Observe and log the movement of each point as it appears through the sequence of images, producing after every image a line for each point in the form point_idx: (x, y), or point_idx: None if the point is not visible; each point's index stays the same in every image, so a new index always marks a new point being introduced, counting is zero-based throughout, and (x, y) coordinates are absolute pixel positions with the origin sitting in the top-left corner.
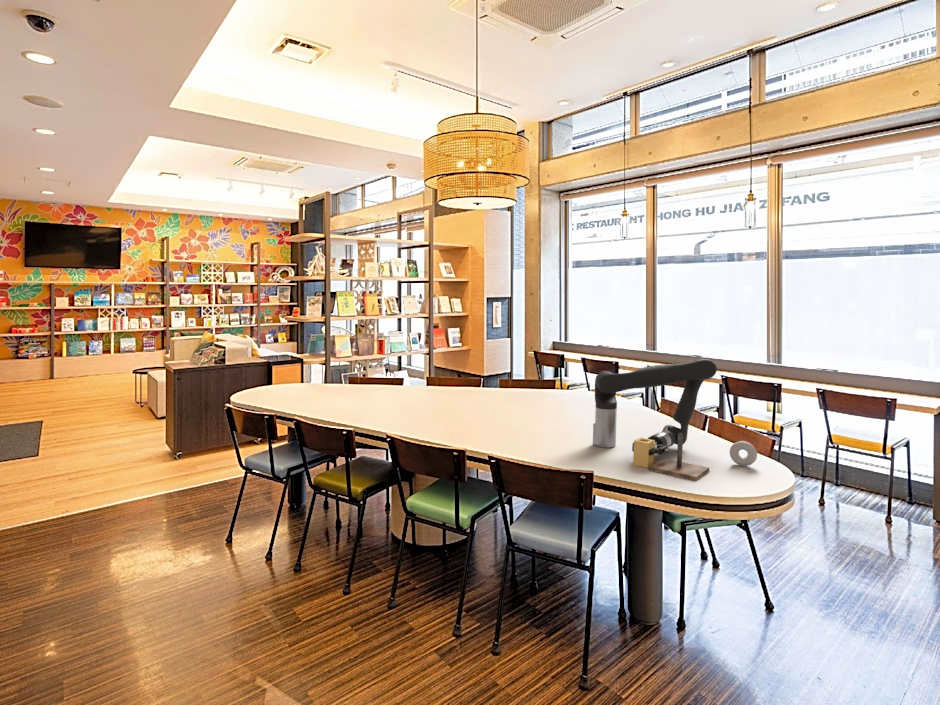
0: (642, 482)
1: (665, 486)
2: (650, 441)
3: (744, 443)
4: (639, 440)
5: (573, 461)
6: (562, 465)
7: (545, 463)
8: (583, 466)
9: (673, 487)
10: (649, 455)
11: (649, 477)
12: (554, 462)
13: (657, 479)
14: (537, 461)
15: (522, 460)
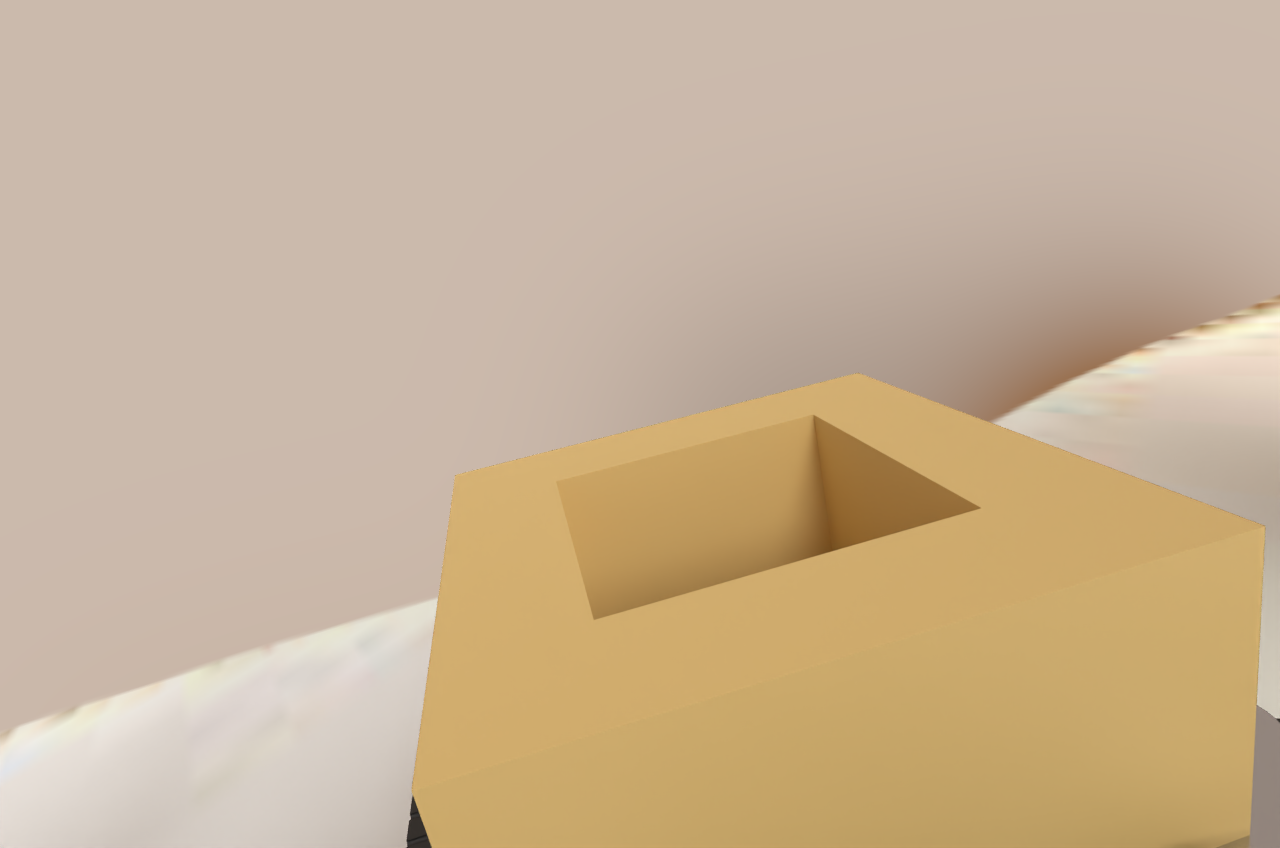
0: (400, 617)
1: (166, 703)
2: (490, 557)
3: None
4: (846, 448)
5: (1225, 444)
6: (1088, 399)
7: (1162, 359)
8: None
9: (74, 742)
10: None
11: (386, 729)
12: (1190, 381)
13: (278, 759)
14: (1226, 342)
15: (1255, 313)
